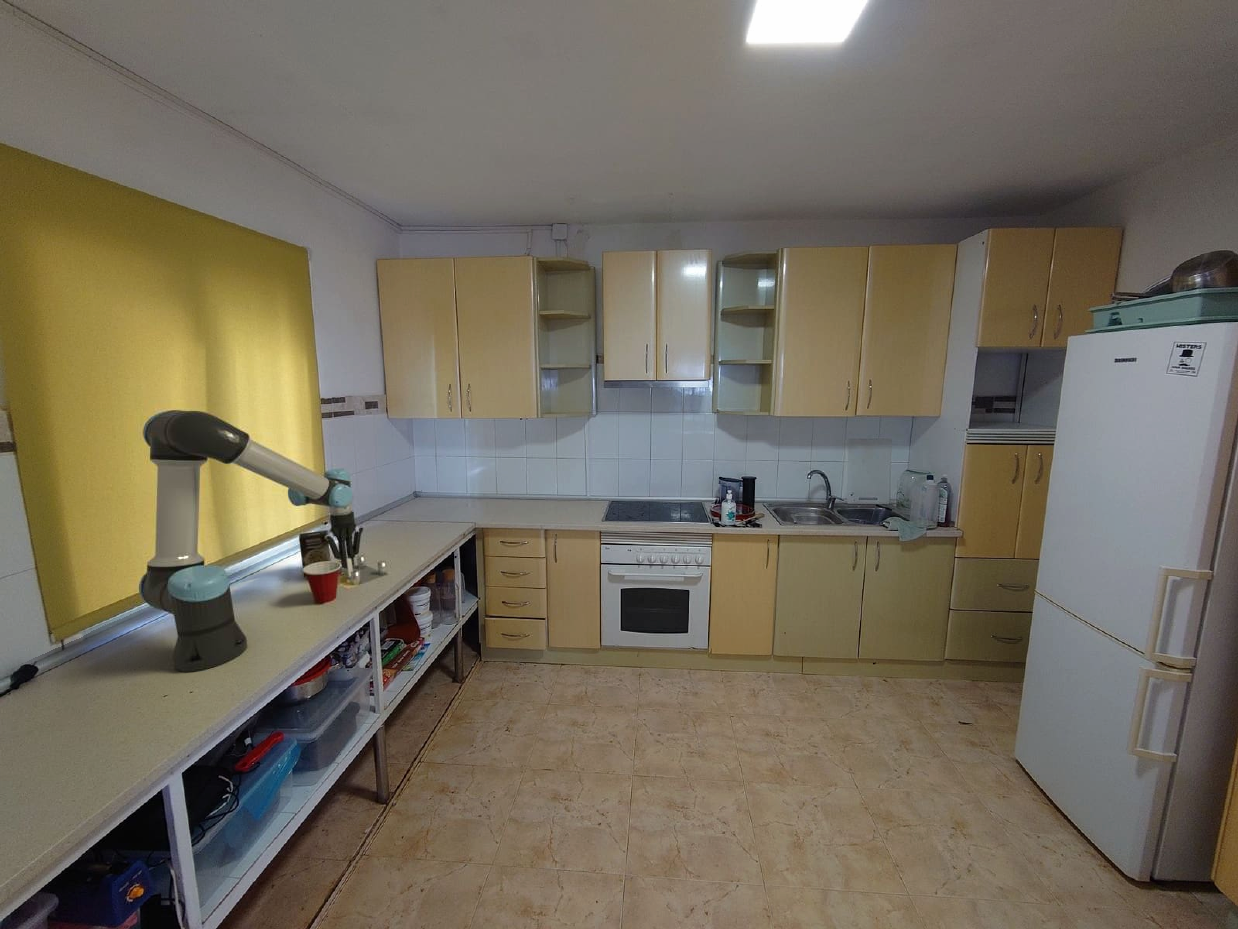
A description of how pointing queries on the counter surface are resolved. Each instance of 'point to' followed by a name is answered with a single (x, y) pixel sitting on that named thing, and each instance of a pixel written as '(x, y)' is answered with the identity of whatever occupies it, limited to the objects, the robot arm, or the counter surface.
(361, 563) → the ball
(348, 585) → the mat
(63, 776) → the counter surface
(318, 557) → the coffee box
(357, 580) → the spacer
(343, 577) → the tan faceted flat piece
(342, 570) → the spacer
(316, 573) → the plastic cup
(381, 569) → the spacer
